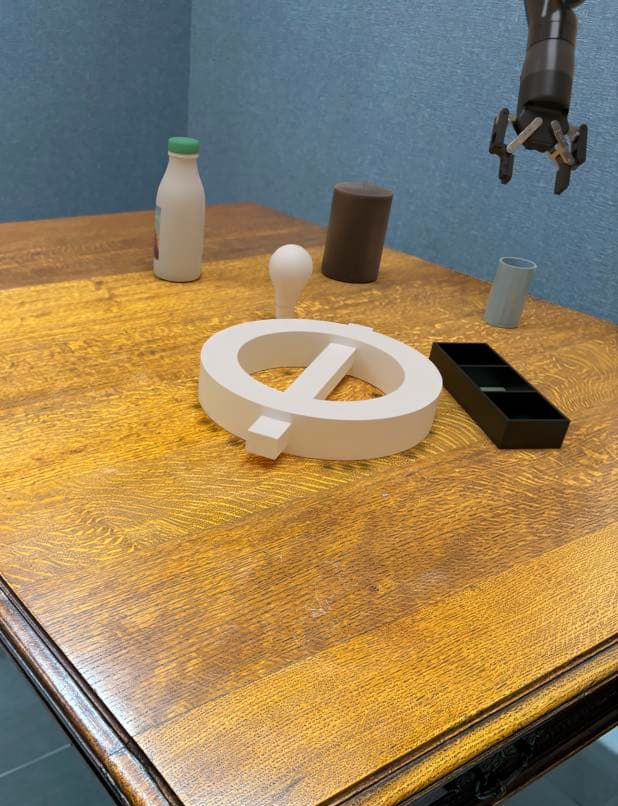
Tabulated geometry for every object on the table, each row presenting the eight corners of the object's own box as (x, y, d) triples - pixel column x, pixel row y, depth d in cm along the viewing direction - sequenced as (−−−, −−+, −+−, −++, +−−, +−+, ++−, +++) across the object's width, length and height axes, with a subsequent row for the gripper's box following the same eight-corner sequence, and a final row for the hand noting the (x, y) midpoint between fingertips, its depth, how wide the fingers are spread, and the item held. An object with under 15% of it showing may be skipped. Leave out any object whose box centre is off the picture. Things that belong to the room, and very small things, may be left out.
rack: (479, 367, 110) (486, 342, 107) (560, 448, 92) (571, 420, 90) (426, 366, 108) (432, 341, 106) (498, 449, 91) (508, 421, 89)
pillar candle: (350, 286, 133) (367, 189, 124) (309, 269, 139) (322, 175, 130) (389, 278, 138) (408, 184, 129) (348, 261, 144) (363, 171, 135)
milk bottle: (209, 275, 132) (220, 140, 120) (183, 286, 127) (191, 146, 115) (171, 264, 135) (177, 132, 124) (143, 274, 130) (147, 137, 118)
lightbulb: (292, 334, 114) (303, 254, 108) (254, 323, 116) (263, 244, 110) (311, 322, 118) (323, 245, 112) (274, 311, 121) (284, 235, 114)
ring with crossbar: (360, 346, 112) (367, 313, 109) (480, 444, 91) (492, 406, 88) (167, 361, 103) (169, 325, 100) (251, 474, 82) (256, 432, 79)
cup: (508, 315, 128) (526, 257, 122) (524, 328, 123) (543, 269, 118) (477, 314, 127) (493, 256, 121) (492, 327, 122) (509, 268, 117)
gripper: (513, 58, 118) (499, 166, 118) (604, 77, 120) (591, 184, 119) (490, 87, 126) (477, 190, 125) (576, 105, 127) (564, 206, 127)
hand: (532, 187), depth 122 cm, fingers open, 8 cm apart
